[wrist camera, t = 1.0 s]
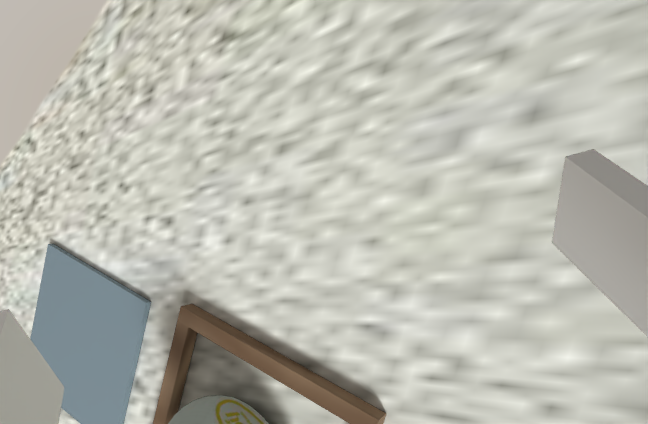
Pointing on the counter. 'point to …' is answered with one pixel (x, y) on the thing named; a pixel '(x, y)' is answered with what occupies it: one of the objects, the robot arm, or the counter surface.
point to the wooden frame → (300, 379)
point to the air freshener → (217, 412)
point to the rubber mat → (89, 336)
